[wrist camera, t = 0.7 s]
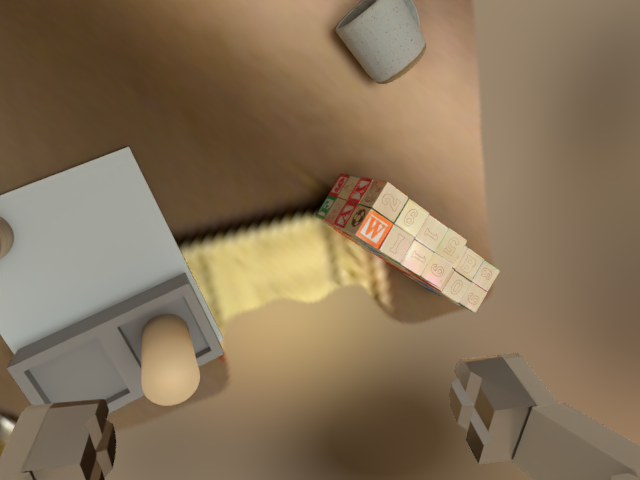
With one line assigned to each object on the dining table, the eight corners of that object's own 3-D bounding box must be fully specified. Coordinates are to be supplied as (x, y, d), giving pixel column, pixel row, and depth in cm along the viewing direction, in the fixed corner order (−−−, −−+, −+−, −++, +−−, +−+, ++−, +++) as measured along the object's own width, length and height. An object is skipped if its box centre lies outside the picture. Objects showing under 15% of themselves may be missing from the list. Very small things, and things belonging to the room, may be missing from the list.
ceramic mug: (368, 92, 56) (401, 84, 49) (324, 36, 53) (353, 19, 46) (424, 32, 57) (465, 16, 50) (385, -26, 54) (422, -52, 47)
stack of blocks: (454, 254, 65) (519, 278, 54) (431, 292, 65) (492, 324, 54) (339, 172, 57) (388, 180, 46) (313, 216, 57) (355, 235, 45)
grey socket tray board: (-70, 221, 43) (-160, 256, 30) (128, 146, 48) (124, 149, 35) (62, 418, 51) (35, 512, 38) (222, 336, 56) (246, 395, 43)
